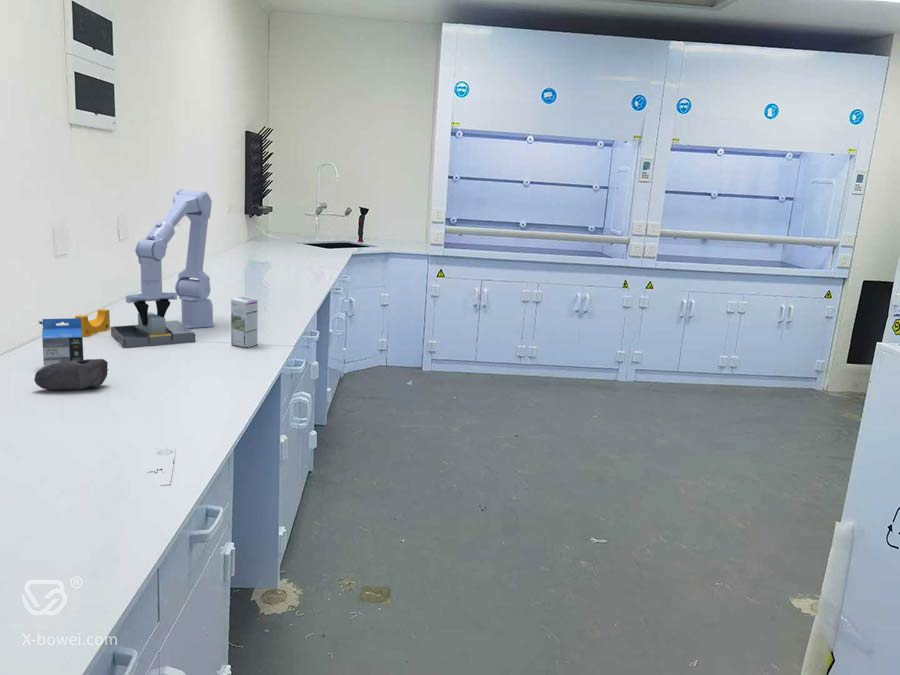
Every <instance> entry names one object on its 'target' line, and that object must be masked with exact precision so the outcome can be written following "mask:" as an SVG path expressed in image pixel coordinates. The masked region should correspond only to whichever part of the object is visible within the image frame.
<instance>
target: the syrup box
mask: <svg viewBox="0 0 900 675" xmlns="http://www.w3.org/2000/svg"><path fill="white" fill-rule="evenodd" d="M258 306H259V305H258V299H257V298H251V297H245V296H238V297H234V298H231V299H230V312H231V313H230V317H231V318H230V319H231V322H230V327H231V328H230V329H231V333H230V336H231V340H230V341H231V346H233V345H234V346H235V347H238V346H239V347H238V348H242V347H244V348H243V349H247V348H246V347H249V348H251V347H250V346H252V345H256V344H257V345H258V343H259V342H258V340H259V339H258V337H259V335H258V324H259V323H258V318H259V317H258V314H259V313H258V311H259V308H258ZM257 345H256V346H257Z"/></svg>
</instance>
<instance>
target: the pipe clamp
mask: <svg viewBox="0 0 900 675" xmlns="http://www.w3.org/2000/svg"><path fill="white" fill-rule="evenodd" d="M75 318H81V324H82V336H83V337H85V338H87V337H86V336H88V337H90V336H89V335H91V336H93V335H92V334H94V335H96V334H95V333H98V332H101V333H103V332H102V331H104V332H106V331H105V330H107V331H109V330H108V329H110V330H111V320H110V318H111V317H110V309H105V308H101V309H97V315H96V318H94V319H89V316H88V315H83V314H79V315H76V316H75ZM98 334H99V333H98Z"/></svg>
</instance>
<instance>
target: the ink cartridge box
mask: <svg viewBox="0 0 900 675" xmlns="http://www.w3.org/2000/svg"><path fill="white" fill-rule="evenodd" d="M41 321H42V331H41V332H42V335H41V336H42V338H41V339H42V340H41V341H42V356H43V357H42V358H43V368H44V367H46V366H49V365H52V364H56V363H61V362H66V361H74V360H85V359H84V342H83V341H84V338H83V336H82V324H81V318H70V317H69V318H42V320H41ZM61 323H64V324H65V325H57V324H61ZM67 324H68V325H67Z"/></svg>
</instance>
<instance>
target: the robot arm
mask: <svg viewBox="0 0 900 675" xmlns="http://www.w3.org/2000/svg"><path fill="white" fill-rule="evenodd" d="M172 202H173V203H172V206H171V207H170V209H169V211H168V213H167V215H166V216H165V218H164V219H163V221H157V222H156V223H155V225H154V227H153V228H152V230H151V231H150V232H149V233H148V234H147V236H146V237H145V238H143V239H141V240H139V241H138V243H137V244H136V246H135V250H134V252H135V254H136V256H137V259H138V260H137V261H138V263H139V264H140V283H141V284H140V285H141V286H140V288H141V291H140V292H141V293H137V294H131V295H125V303H127V304H133V305H134V307H135V308H136V309H137V310H136V311H137V313H139V315H140V317H141V321H142V325H144V326H147V325H148V318H147V314H148V313H149V304H148V303H147V302H155V306H156V315H158V316H161V317H163V318H165V316H166V314H167V311H168V308H169V307H170V305H171V301H170V300H174V301H175V300H176V301H177V300H178V298H179V300H181V303H180V304H181V321H179V322H180V323H182V324H183V325H185V326H186V327H187V328H189V329H197V328H210V327H215V326H214V313H213V311H214V307H213V302H212V299H210V298H208V297H209V296H210V294H211V284H210V283H211V282H210V281H211V280H210V279H211V278H210V277H209V275H208V274H207V273H206V272H205V271H204V263H205V262H204V261H205V252H206V246H207V245H206V243H207V233H208V224H209V219H211V218H210V217H211V210H212V202H213V201H212V198H211V197H210V194H209V193H208V192H207V191H197V190H184V189H178V190H176V192H175V194H174V195H173V196H172ZM184 217H187V218H188V219H189V221H190V225H189V234H188V243H187V245H188V246H187V253H186V262H185V269H183V270H181V272H179V273H178V275H177V276H178V277H177V280H176V282H175V285H174V290H175V292H163V274H162V273H163V272H162V270H163V268H162V266H163V265H162V260H163V259H164V258H165V257H166V253H167V248H168V243H169V242H170V240H171V239H172V238H173V237H174V235H175V233H176V230H175V227H176V226H177V225H178V224H179V223H180V222H181V221H182V219H183V218H184ZM192 278H193V279H192Z"/></svg>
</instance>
